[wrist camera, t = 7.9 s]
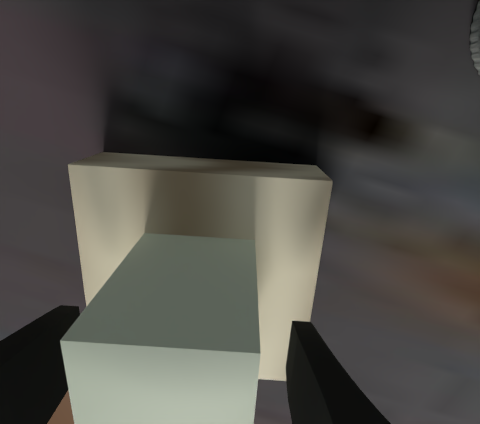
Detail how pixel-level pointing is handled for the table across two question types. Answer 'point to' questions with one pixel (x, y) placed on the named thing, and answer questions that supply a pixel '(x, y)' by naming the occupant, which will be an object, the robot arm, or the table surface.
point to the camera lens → (476, 38)
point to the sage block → (169, 336)
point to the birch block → (209, 225)
